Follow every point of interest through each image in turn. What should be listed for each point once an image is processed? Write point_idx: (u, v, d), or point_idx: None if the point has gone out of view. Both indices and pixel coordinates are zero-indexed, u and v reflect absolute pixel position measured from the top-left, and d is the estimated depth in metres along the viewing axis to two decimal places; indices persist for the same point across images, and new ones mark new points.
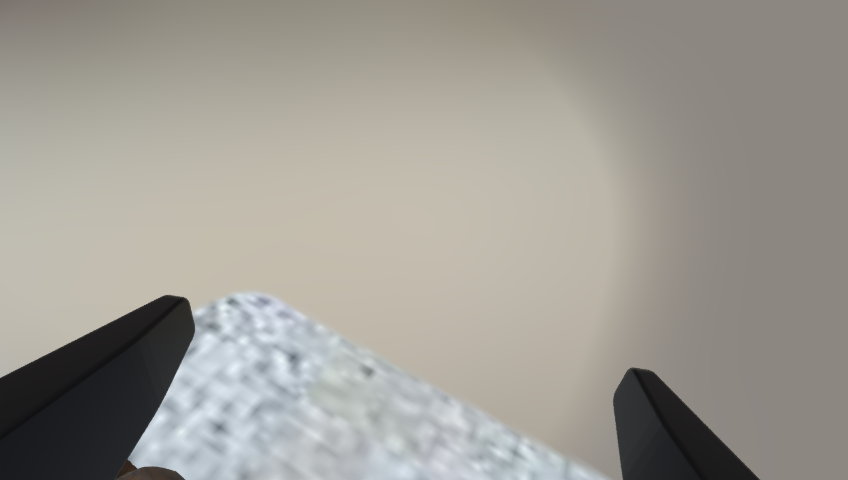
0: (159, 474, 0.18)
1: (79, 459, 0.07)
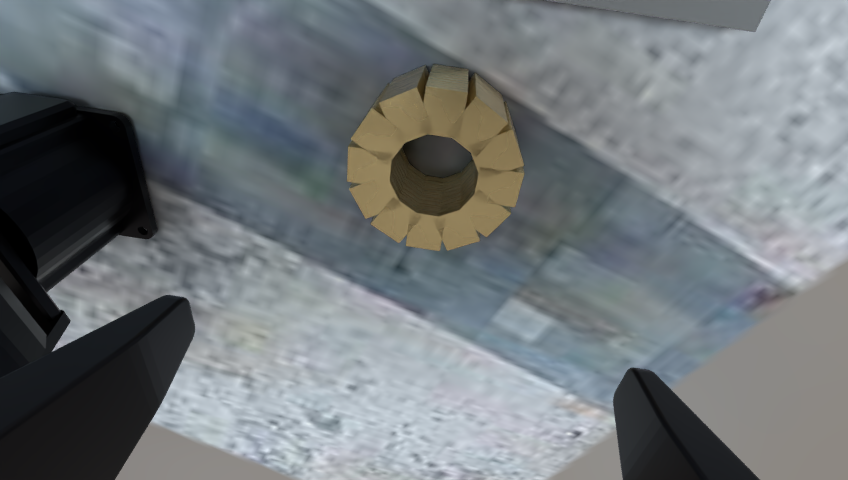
0: None
1: (79, 459, 0.07)
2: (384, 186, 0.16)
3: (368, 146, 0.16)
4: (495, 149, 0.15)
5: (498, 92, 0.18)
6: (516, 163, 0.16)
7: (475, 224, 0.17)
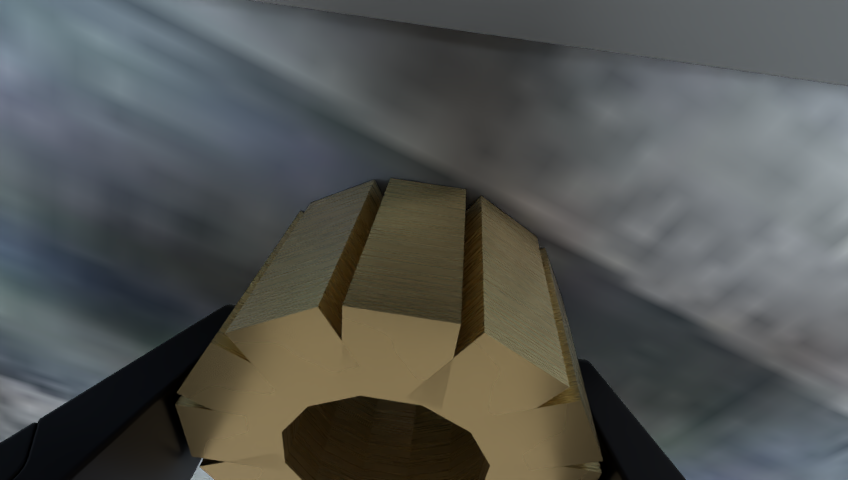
0: None
1: (158, 472, 0.07)
2: (276, 468, 0.07)
3: (222, 406, 0.06)
4: (532, 431, 0.06)
5: (530, 233, 0.08)
6: (584, 456, 0.06)
7: None
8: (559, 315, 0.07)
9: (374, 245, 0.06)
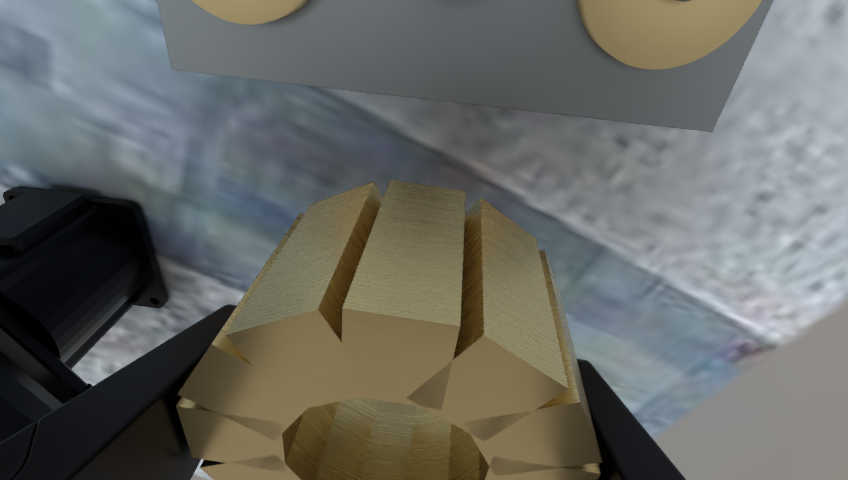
0: None
1: (158, 472, 0.07)
2: (277, 469, 0.07)
3: (223, 408, 0.07)
4: (531, 432, 0.06)
5: (529, 235, 0.08)
6: (583, 458, 0.06)
7: None
8: (558, 317, 0.07)
9: (374, 247, 0.06)
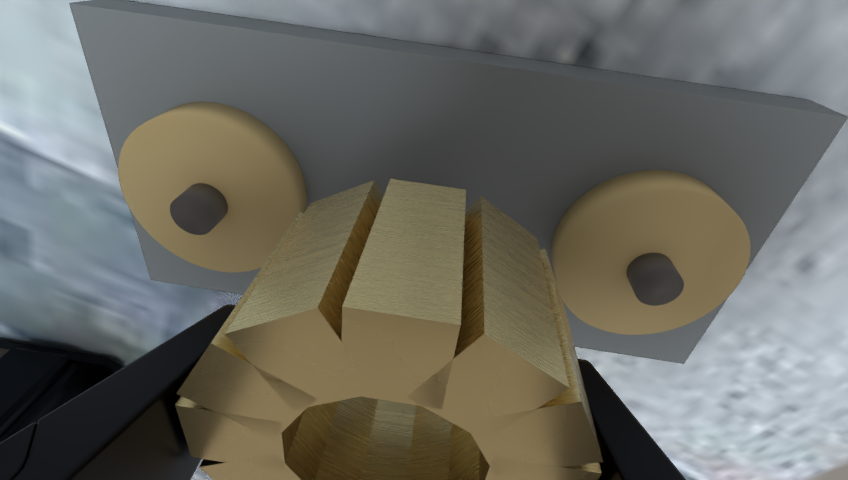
0: None
1: (158, 472, 0.07)
2: (276, 469, 0.07)
3: (222, 407, 0.06)
4: (533, 432, 0.06)
5: (530, 234, 0.08)
6: (584, 457, 0.06)
7: None
8: (559, 316, 0.07)
9: (374, 246, 0.06)
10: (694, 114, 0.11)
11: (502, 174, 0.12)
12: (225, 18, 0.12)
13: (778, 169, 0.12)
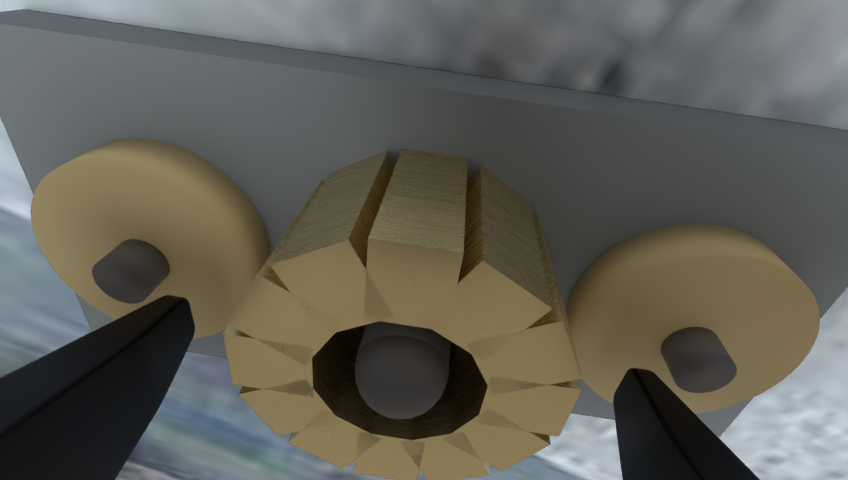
0: None
1: (79, 459, 0.07)
2: (305, 394, 0.09)
3: (263, 334, 0.08)
4: (523, 352, 0.07)
5: (523, 197, 0.10)
6: (566, 374, 0.07)
7: (481, 453, 0.09)
8: (547, 261, 0.08)
9: (391, 197, 0.07)
10: (752, 158, 0.09)
11: None
12: (162, 35, 0.09)
13: None
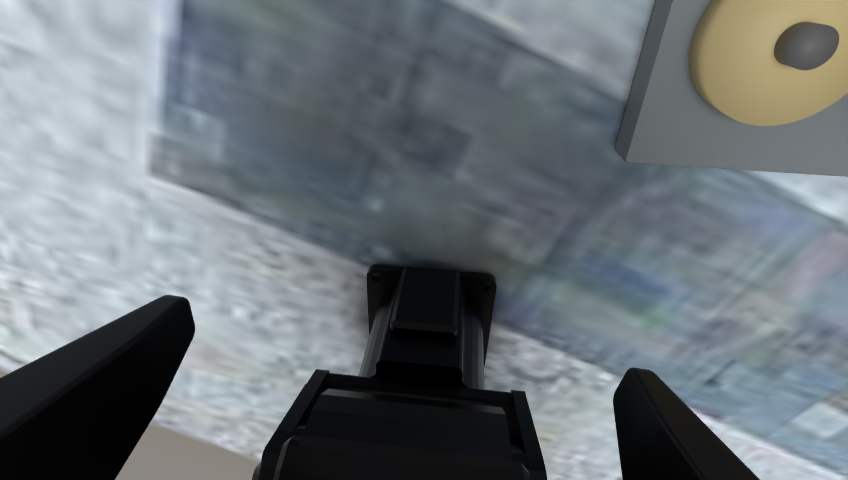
0: None
1: (79, 459, 0.07)
2: None
3: None
4: None
5: None
6: None
7: None
8: None
9: None
10: None
11: None
12: None
13: None
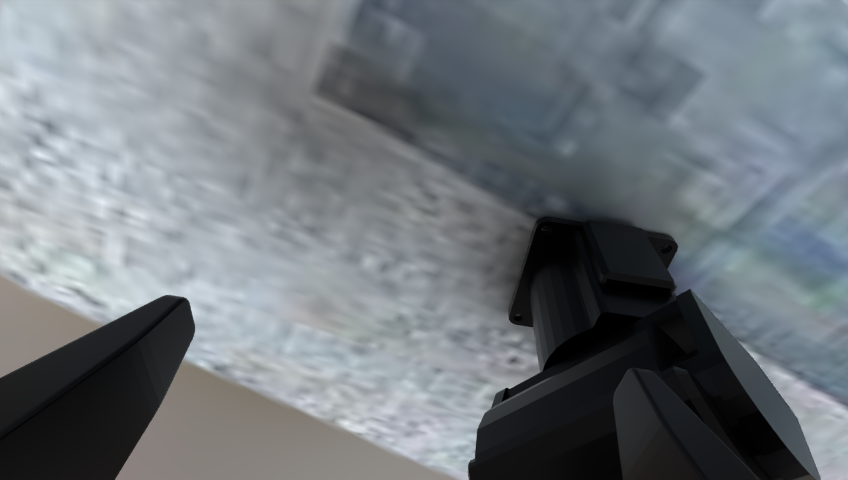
0: None
1: (79, 459, 0.07)
2: None
3: None
4: None
5: None
6: None
7: None
8: None
9: None
10: None
11: None
12: None
13: None
